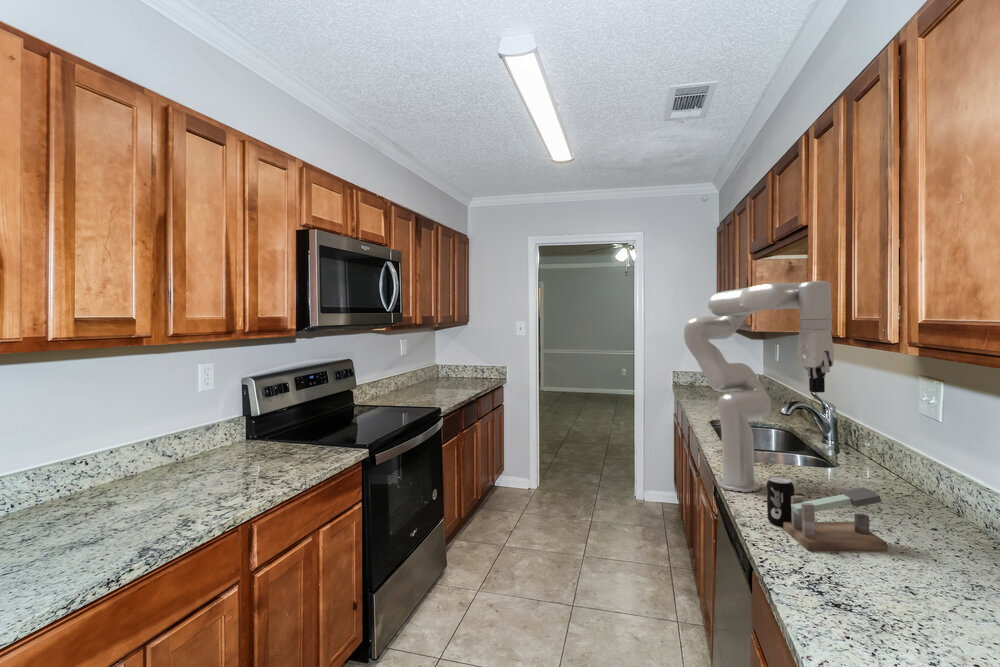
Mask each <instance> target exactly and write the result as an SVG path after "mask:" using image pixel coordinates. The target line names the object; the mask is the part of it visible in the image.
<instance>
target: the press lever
mask: <svg viewBox="0 0 1000 667" xmlns="http://www.w3.org/2000/svg"><path fill="white" fill-rule="evenodd" d="M801 503H812V504H813V505H814V513H816V512H822V511H828V510H832V509H837V508H843V507H846V506H853V507H855V508H857V507H863V506H869V505H874V504H878V503H882V498H881V496H880V494H878V493H876V492H874V491H872V490H870V489H868V488H866V487H864V486H863V487H858V488H854V489H849V490H843V491H839V494H838V495H833V496H827V497H822V498H817V499H813V500H808V501H803V502H801ZM801 503H796V504H791V508H792V511H793V512H795V513H796V514H797V515H802V507H801Z"/></svg>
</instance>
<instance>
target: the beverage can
mask: <svg viewBox="0 0 1000 667" xmlns="http://www.w3.org/2000/svg"><path fill="white" fill-rule="evenodd" d="M767 479H768V480H767V481H766V510H767V511H766V512H767V513H766V514H767V515H766V516H767V520H768V521H769V522H770V524H772V523H773V525H775V526H778V527H783V522H792V517H791V496H795V485H794V484H793V480H792V479H791V478H789V477H786V476H782V475H781V476H780V475H771V476H769V477H767Z"/></svg>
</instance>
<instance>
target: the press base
mask: <svg viewBox="0 0 1000 667" xmlns="http://www.w3.org/2000/svg"><path fill="white" fill-rule="evenodd" d="M801 502H804V497H803V496H802V495H794V496H791V504H796V503H801ZM801 507H802V515H797V514H796V513H795V512H793V511H792V508H791V517H792V522H783V526H782V527H783V531H785V533H787V534H788V535H789V536H790V535H791V536H792V537H791V536H790V537H791V538H793V539H794V541H796V542H797V543H798V542H799V543H800V544H799V543H798V544H799V545H800V546H802V547H803V548H804V549H805V550H806V551H807V550H808V552H810V551H811V552H812V551H813V552H814V551H815V552H820V551H821V552H822V551H823V552H824V551H825V552H827V551H829V552H831V551H832V552H833V551H834V552H835V551H836V552H845V551H846V552H847V551H848V552H851V551H853V552H856V551H857V552H861V551H862V552H868V551H869V552H880V551H881V552H888V542H887V541H885V539H883V538H882V537H880V536H878V535H876V534H875V533H874V532H872V531H871V530H870V516H869V515H868V514H864V513H854V514H853V518H854V521H815V519H816V518H815V512H814V505H813V504H812V503H801Z"/></svg>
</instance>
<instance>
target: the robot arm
mask: <svg viewBox="0 0 1000 667" xmlns="http://www.w3.org/2000/svg"><path fill="white" fill-rule="evenodd" d="M707 307H708V309H709V311H710V312H711V313H712V314H713V315H706V316H705V315H702V316H697V317H693V318H691V319H689V320H688V321H687V322H686V324H685V326H684V328H683V338H684V343H685V345H686V347H687V349H688V350H689V352H690V354H691V355H692V356H693V357H694V358H695V360H696V362H697V364H698V366H699V368H700V369H701V371H702V373H703V375H704V377H705V379H706V381H707V383H708V384H709V386H710V387H711V388H712V389H713V391H715V392H719V393H723V392H724V393H723V394H722V395H721V396H720V397H718V400H717V412H718V416H719V421H720V430H721V450H722V451H721V452H722V453H721V456H722V458H721V459H722V477H721V478H719V479H718V480H717V484H718V486H719V487H720V488H723V489H724V490H727V491H731V490H733V491H732V492H737V491H741V492H740V493H751V492H752V491H753V492H757V491H759V490H760V489H761V484H760V482H758V481H757V480H755V452H754V451H755V450H754V449H755V448H754V433H753V429H752V428H751V425H750V424H749V422H748V420H755V419H760V418H764V417H766V416H768V415H769V414H770V413H771V409H772V402H771V399H770V397H769V395H768V392H767V391H766V389H765V388H764V386H763V384H762V383H761V382H760V379H759V377H758V376H757V374H756V372H755V371H754V370H753V368H751V367H750V366H749V365H747V364H745V363H743V362H728V361H727V359H726V358H725V356H724V355H723V352H721V350H720V349H719V348H718V347H717V346H716V345H715V344H713V343H712V342H711V341H712V340H724V339H727V338H731V337H732V336H733V335H734V334H735V333H736V332H737V330H738V329H739V327H740V326H741V325H742V323H744V321H745V319H746V318H747V317H748V316H749V315H752V314H755V313H756V312H758V311H759V312H760V311H769V310H770V311H771V310H784V309H785V310H792V309H793V310H795V309H796V310H797V309H798V315H799V316H798V319H799V321H798V322H799V324H798V326H799V334H798V342H797V364H798V365H800V366H801V367H803V369H805V370H806V371H807V376H808V383H809V384H808V385H809V386H808V390H809V392H810V393H813V394H814V393H815V394H817V393H825V392H826V391H825V390H826V389H825V386H826V385H825V384H826V383H825V382H826V381H825V379H826V376H827V375H826V374H827V373H830V372H831V370H830V369H831V368H832V367H833V366H834V363H835V362H834V358H835V357H834V353H835V352H834V343H833V338H832V337H833V335H832V331H833V327H832V326H833V325H832V324H833V323H832V321H833V320H832V318H833V317H832V288H831V282H829V281H826V280H813V281H812V280H810V281H805V282H775V283H773V282H772V283H766V284H758V285H752V286H749V287H743V288H737V289H731V290H723V291H719V292H716V293H715V294H713V295H711V297H710V298H709V299H708V302H707ZM710 340H711V341H710Z"/></svg>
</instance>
